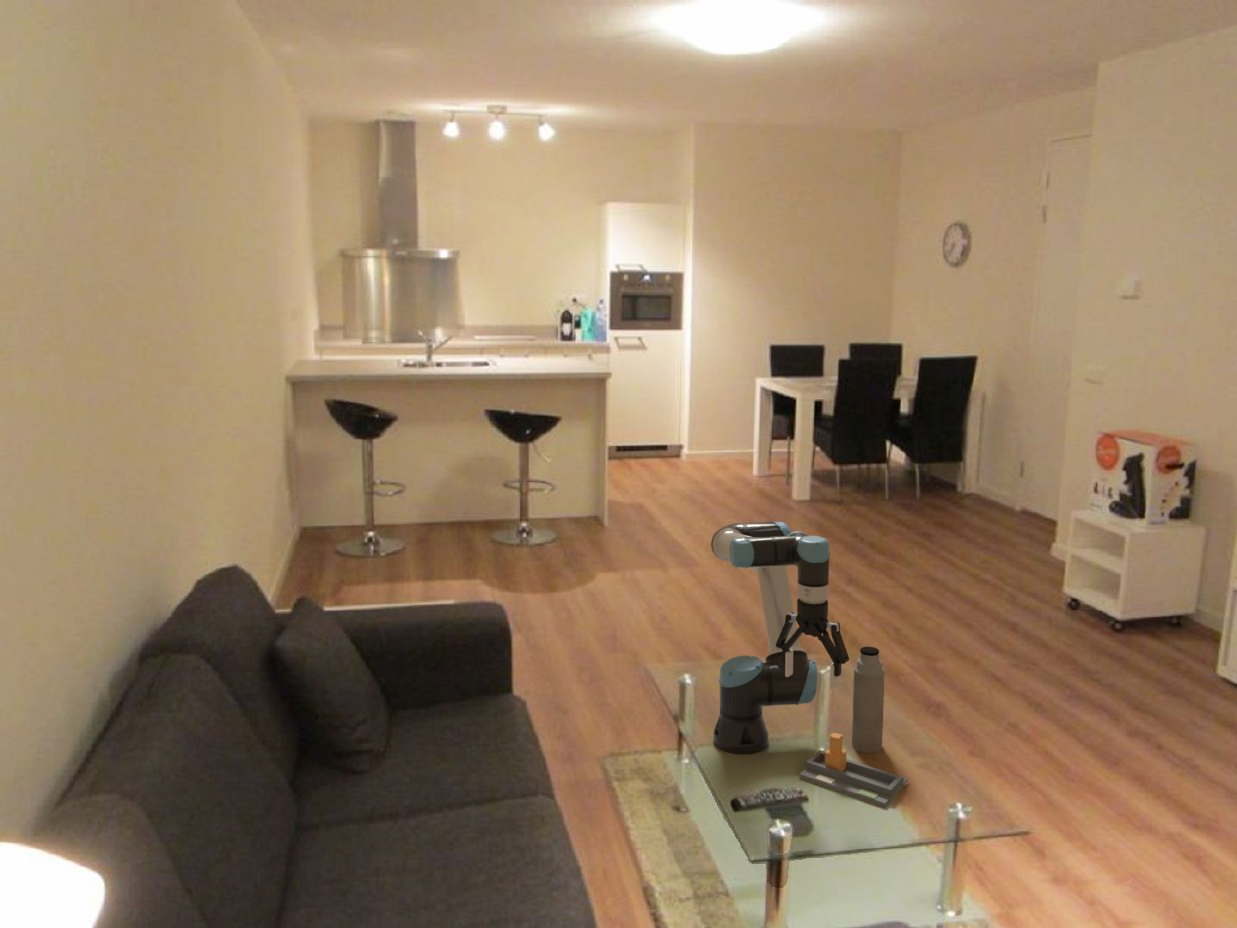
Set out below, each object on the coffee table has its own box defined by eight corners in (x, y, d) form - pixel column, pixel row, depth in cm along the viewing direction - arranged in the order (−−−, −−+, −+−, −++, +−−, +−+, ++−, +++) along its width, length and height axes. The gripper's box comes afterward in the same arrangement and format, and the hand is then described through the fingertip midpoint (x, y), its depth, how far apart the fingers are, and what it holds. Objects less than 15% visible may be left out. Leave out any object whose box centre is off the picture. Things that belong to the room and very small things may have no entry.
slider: (824, 770, 244) (825, 736, 242) (831, 763, 247) (832, 730, 245) (839, 774, 241) (839, 740, 239) (846, 768, 244) (846, 734, 242)
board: (799, 778, 243) (799, 766, 242) (824, 756, 254) (825, 745, 253) (884, 807, 229) (885, 795, 228) (907, 783, 239) (908, 771, 239)
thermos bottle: (881, 739, 262) (884, 644, 256) (883, 754, 254) (886, 655, 249) (851, 737, 263) (854, 642, 258) (852, 751, 256) (855, 654, 250)
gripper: (762, 593, 239) (761, 674, 243) (851, 613, 224) (849, 698, 228) (777, 586, 244) (776, 664, 249) (864, 604, 230) (862, 687, 234)
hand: (811, 681), depth 238 cm, fingers open, 12 cm apart
